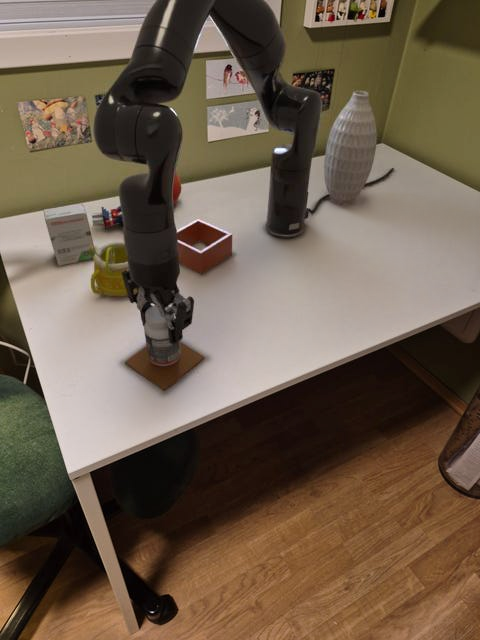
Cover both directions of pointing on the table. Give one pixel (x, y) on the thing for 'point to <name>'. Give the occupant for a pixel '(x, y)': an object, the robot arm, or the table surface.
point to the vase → (350, 149)
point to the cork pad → (165, 374)
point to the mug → (110, 269)
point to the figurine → (108, 217)
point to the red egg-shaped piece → (176, 188)
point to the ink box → (69, 233)
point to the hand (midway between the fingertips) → (162, 332)
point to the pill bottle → (159, 339)
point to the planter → (208, 235)
